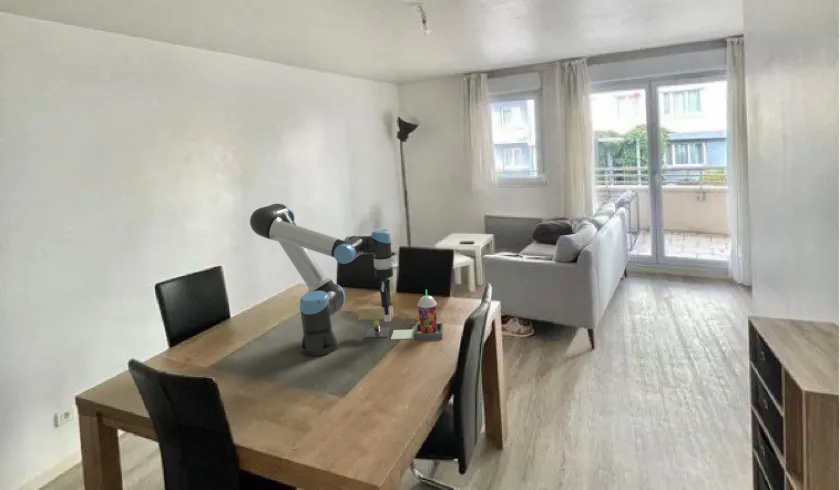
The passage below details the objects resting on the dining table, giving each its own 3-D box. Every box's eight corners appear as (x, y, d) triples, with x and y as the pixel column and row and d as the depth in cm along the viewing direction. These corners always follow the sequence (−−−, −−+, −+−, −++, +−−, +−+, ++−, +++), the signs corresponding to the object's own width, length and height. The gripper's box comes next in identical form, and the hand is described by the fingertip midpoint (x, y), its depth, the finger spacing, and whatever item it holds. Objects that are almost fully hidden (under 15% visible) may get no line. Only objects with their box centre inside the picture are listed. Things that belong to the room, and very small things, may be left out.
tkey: (359, 332, 219) (357, 309, 216) (361, 330, 222) (359, 306, 219) (393, 331, 217) (391, 307, 215) (394, 329, 220) (392, 305, 218)
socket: (414, 339, 210) (413, 334, 210) (416, 329, 222) (416, 323, 222) (442, 338, 209) (442, 333, 209) (443, 328, 221) (443, 322, 220)
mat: (390, 339, 212) (390, 338, 212) (393, 330, 221) (393, 330, 221) (414, 339, 211) (414, 338, 211) (416, 330, 221) (416, 329, 220)
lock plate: (364, 338, 215) (364, 336, 215) (368, 329, 225) (368, 328, 225) (387, 337, 214) (386, 336, 214) (390, 328, 224) (390, 327, 224)
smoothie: (439, 330, 219) (436, 286, 215) (438, 337, 211) (435, 292, 207) (420, 330, 220) (417, 287, 216) (418, 337, 212) (415, 293, 208)
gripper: (390, 271, 200) (394, 326, 205) (394, 263, 213) (398, 315, 218) (371, 271, 201) (376, 326, 206) (377, 263, 214) (381, 315, 219)
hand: (387, 320), depth 212 cm, fingers closed
